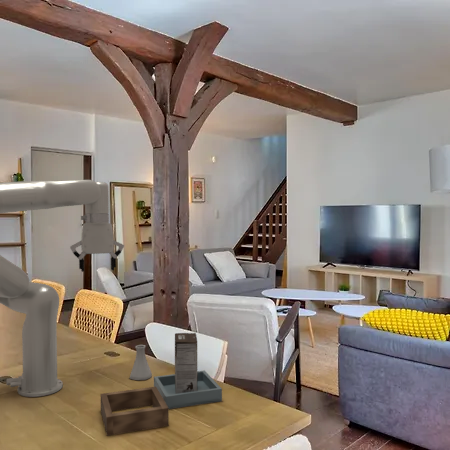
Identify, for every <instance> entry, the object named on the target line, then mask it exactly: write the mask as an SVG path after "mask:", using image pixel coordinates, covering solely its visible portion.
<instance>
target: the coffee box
mask: <svg viewBox="0 0 450 450" xmlns="http://www.w3.org/2000/svg"><path fill="white" fill-rule="evenodd" d="M197 337H198V336H197V333H196V332H192V333H191V332H178V333H174V374H175V392H176V394H178V393H185V392H193V391H197V371H198V338H197Z"/></svg>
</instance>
